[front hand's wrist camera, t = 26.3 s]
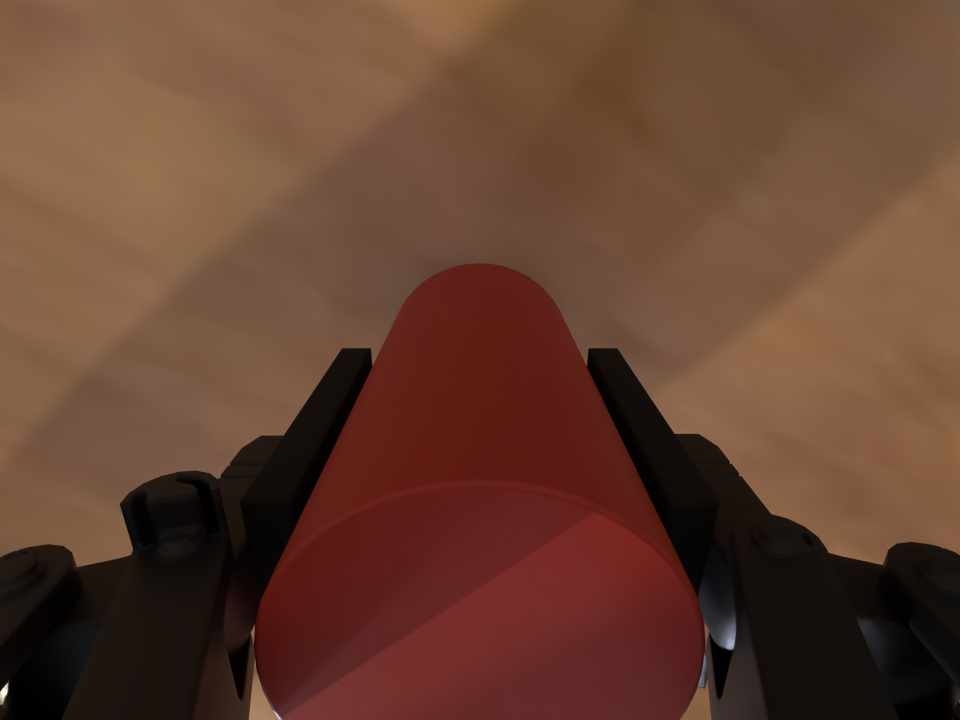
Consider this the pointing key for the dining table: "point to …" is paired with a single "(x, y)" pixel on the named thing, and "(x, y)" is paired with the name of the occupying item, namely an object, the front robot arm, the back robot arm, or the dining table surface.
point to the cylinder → (479, 536)
